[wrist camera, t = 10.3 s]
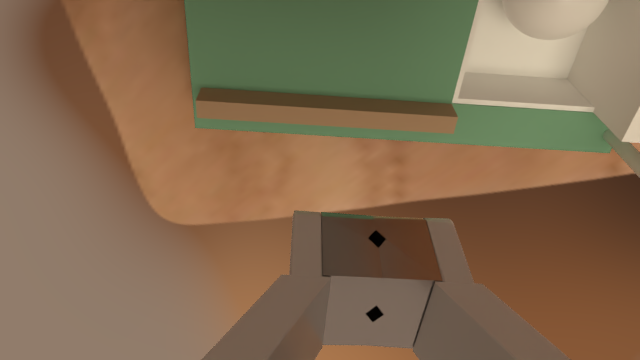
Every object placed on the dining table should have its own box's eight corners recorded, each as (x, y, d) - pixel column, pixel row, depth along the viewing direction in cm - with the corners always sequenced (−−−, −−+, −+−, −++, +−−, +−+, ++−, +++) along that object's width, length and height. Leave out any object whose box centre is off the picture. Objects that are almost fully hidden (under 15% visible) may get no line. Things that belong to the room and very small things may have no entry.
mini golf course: (187, -210, 22) (-123, -296, 6) (703, -161, 23) (1494, -130, 8) (209, 122, 32) (110, 404, 16) (568, 144, 33) (790, 425, 17)
